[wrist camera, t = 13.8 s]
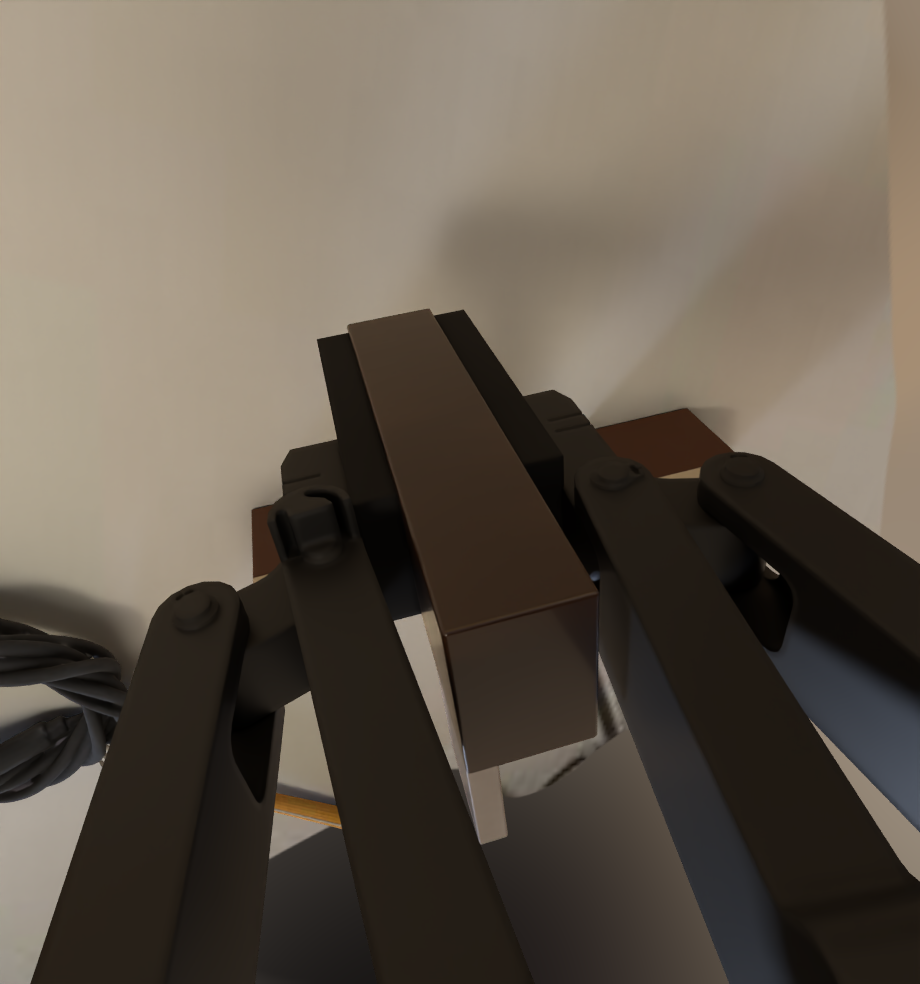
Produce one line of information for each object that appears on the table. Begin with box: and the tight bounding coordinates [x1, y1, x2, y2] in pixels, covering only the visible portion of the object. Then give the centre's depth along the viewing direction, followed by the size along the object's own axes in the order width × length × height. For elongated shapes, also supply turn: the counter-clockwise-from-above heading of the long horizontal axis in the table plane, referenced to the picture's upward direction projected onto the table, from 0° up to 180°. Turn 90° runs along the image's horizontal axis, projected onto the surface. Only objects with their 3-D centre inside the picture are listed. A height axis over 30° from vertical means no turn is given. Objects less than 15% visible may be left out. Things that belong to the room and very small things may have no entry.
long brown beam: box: [347, 309, 599, 844], centre depth 17 cm, size 2×17×10 cm, turn 6°
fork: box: [99, 744, 342, 829], centre depth 42 cm, size 2×2×20 cm
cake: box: [596, 408, 734, 479], centre depth 34 cm, size 6×6×6 cm
